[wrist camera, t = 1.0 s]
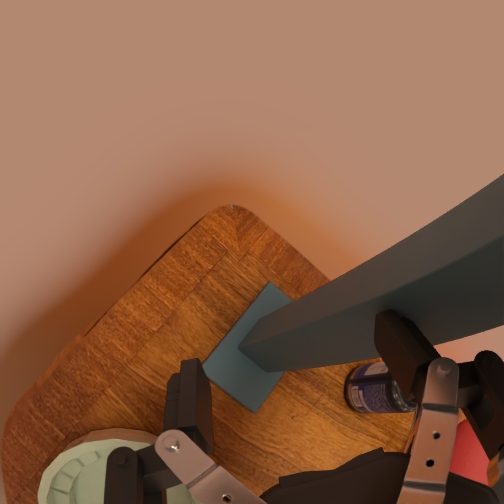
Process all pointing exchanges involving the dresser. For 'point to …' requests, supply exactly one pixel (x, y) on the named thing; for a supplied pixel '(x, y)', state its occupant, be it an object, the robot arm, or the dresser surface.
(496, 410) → the robot arm
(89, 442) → the bowl
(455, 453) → the mushroom
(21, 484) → the dresser surface
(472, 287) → the headphone stand
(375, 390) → the pill bottle
